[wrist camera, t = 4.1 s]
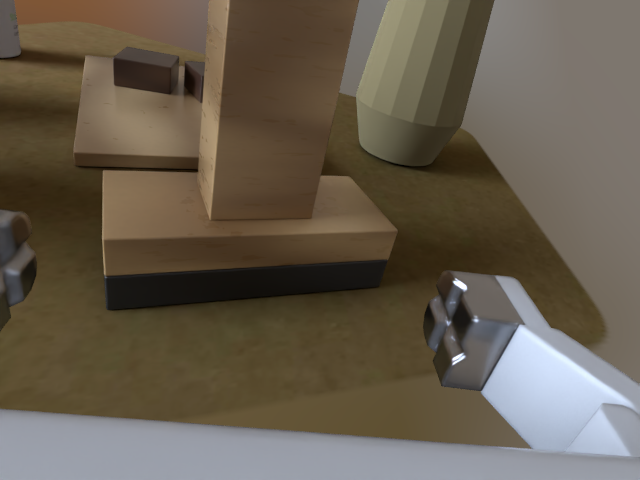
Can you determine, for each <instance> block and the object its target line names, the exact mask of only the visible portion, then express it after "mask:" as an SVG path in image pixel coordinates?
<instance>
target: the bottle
mask: <svg viewBox="0 0 640 480" xmlns="http://www.w3.org/2000/svg"><path fill="white" fill-rule="evenodd" d="M20 53H21V48H20V40H19V33H18V25H17V18H16V11H15V4H14V0H0V58H9V57H14V56H18V55H20Z"/></svg>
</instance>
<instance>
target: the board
mask: <svg viewBox="0 0 640 480" xmlns="http://www.w3.org/2000/svg"><path fill="white" fill-rule="evenodd" d="M184 72H185V67H184V66H179V79H178V82H177V84H176V86H175V87H174V89H173V91H172V92H171V94H163V93H157V92H151V91H145V90H139V89H133V88H127V87H121V86H115V85H114V75H113V58H105V57H97V56H88V55H86V57H85V65H84V73H83V80H82V88H81V96H80V104H79V112H78V119H77V127H76V135H75V143H74V151H73V157H74V165H75V166H94V167H131V168H167V169H198V163H199V148H200V133H201V118H202V103H200V102H199V101H198V100H197V99H196V98H195V97H194V96H193V95H192V94H191V93H190V92H189V91H188V90H187V89H186V88H185V87H184Z"/></svg>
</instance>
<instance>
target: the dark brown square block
mask: <svg viewBox="0 0 640 480" xmlns="http://www.w3.org/2000/svg"><path fill="white" fill-rule="evenodd" d="M204 72H205V62H194V61H185V72H184V87H185V88H186V89H187V90H188V91H189V92H190V93H191V94H192V95H193V96H194V97H195V98H196V99H197V100H198V101H199V102H200V103H203V87H204Z"/></svg>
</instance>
